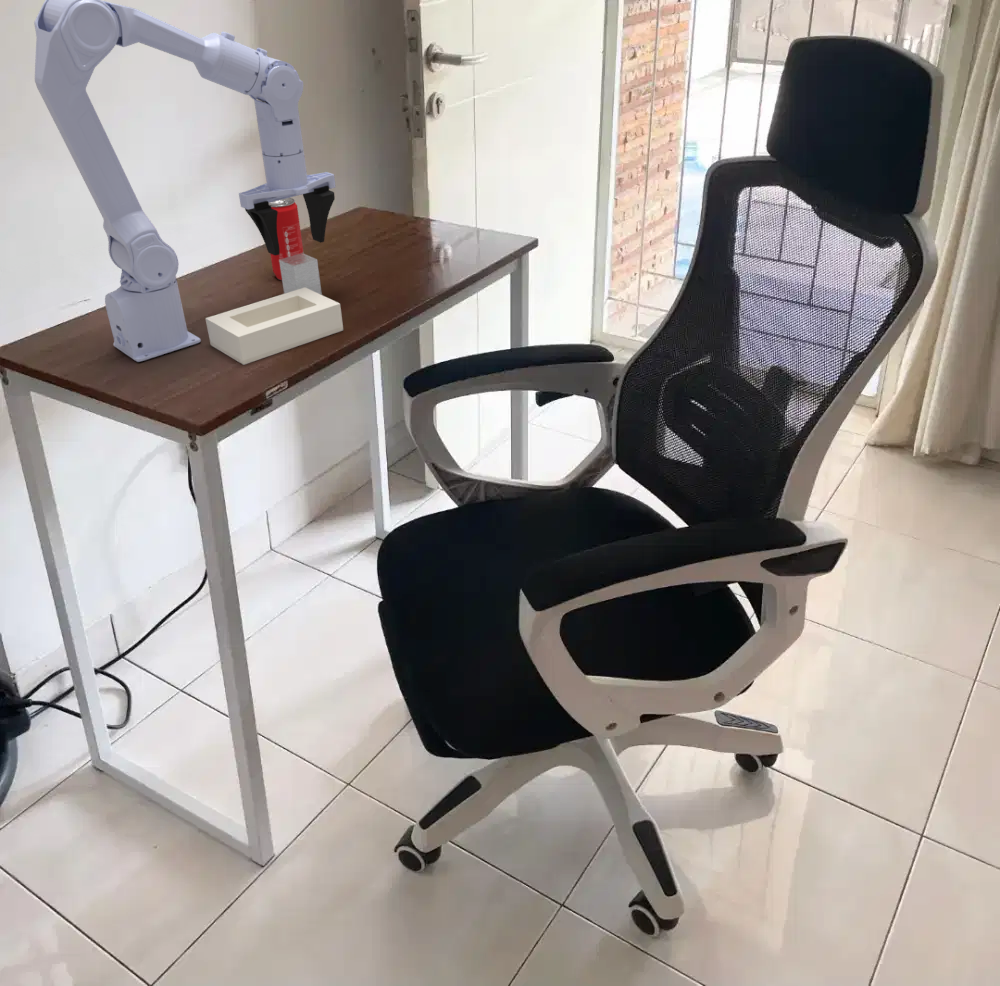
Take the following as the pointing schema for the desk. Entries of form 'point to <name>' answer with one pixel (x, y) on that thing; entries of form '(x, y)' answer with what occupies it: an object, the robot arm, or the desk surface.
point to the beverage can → (286, 232)
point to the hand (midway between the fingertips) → (296, 247)
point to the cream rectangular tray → (274, 325)
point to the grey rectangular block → (300, 273)
